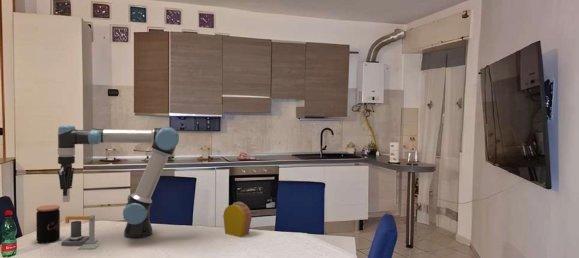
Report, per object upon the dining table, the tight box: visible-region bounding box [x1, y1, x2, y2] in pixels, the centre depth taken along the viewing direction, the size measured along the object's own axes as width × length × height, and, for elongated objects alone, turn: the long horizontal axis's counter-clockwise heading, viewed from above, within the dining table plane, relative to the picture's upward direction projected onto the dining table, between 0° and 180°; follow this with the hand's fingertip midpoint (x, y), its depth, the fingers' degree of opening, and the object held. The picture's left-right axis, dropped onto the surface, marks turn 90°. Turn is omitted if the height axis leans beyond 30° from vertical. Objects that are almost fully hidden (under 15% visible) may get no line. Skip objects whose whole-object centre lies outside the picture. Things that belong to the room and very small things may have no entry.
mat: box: [77, 243, 100, 250], centre depth 201 cm, size 8×6×1 cm
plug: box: [69, 220, 83, 241], centre depth 207 cm, size 6×6×11 cm
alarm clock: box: [222, 201, 253, 238], centre depth 228 cm, size 15×8×18 cm, turn 58°
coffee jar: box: [35, 204, 61, 244], centre depth 209 cm, size 11×11×18 cm
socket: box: [61, 220, 99, 247], centre depth 207 cm, size 15×10×12 cm, turn 95°
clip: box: [64, 215, 96, 224], centre depth 207 cm, size 14×3×4 cm, turn 95°
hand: (66, 201), depth 201 cm, fingers closed
